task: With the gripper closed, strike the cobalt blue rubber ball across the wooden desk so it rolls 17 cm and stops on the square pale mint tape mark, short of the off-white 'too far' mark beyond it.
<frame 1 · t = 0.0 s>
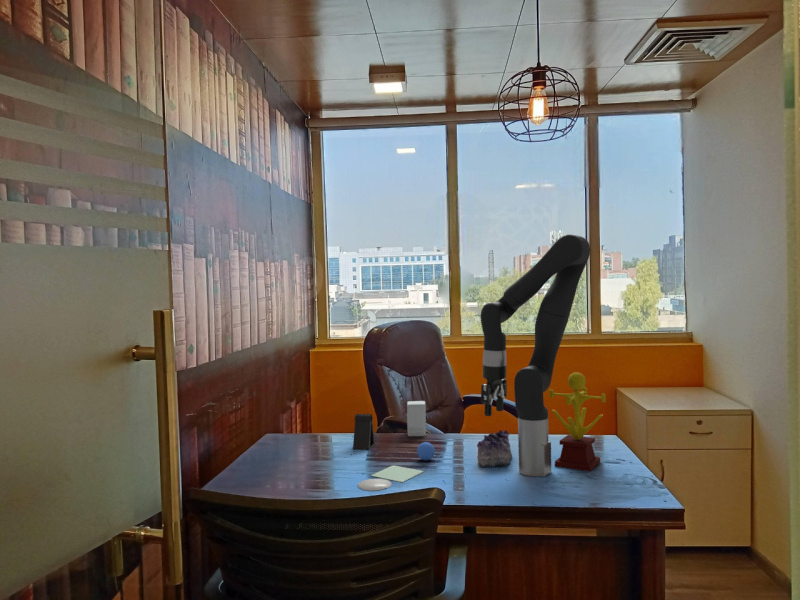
hand: (494, 413, 193), 17 cm above the table, fingers open, 8 cm apart
ball: (426, 451, 201), on the table
supplement box: (416, 434, 237), on the table
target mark: (397, 473, 187), on the table
trophy: (577, 464, 193), on the table
phone stand: (364, 447, 220), on the table
geode: (495, 461, 200), on the table
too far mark: (374, 484, 177), on the table
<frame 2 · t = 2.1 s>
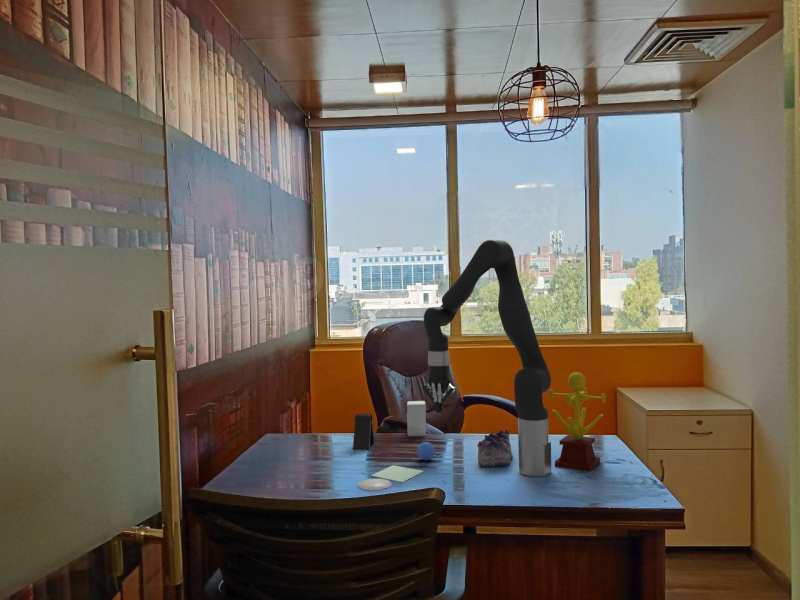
hand: (439, 412, 209), 14 cm above the table, fingers closed
nothing on the table moved.
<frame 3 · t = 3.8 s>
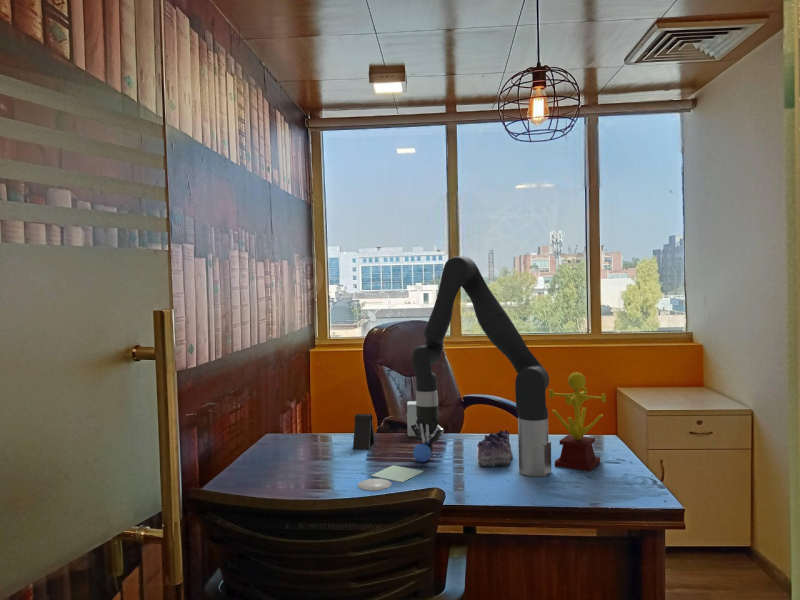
hand: (428, 453, 203), 2 cm above the table, fingers closed
ball: (422, 452, 199), on the table
everything else where it was.
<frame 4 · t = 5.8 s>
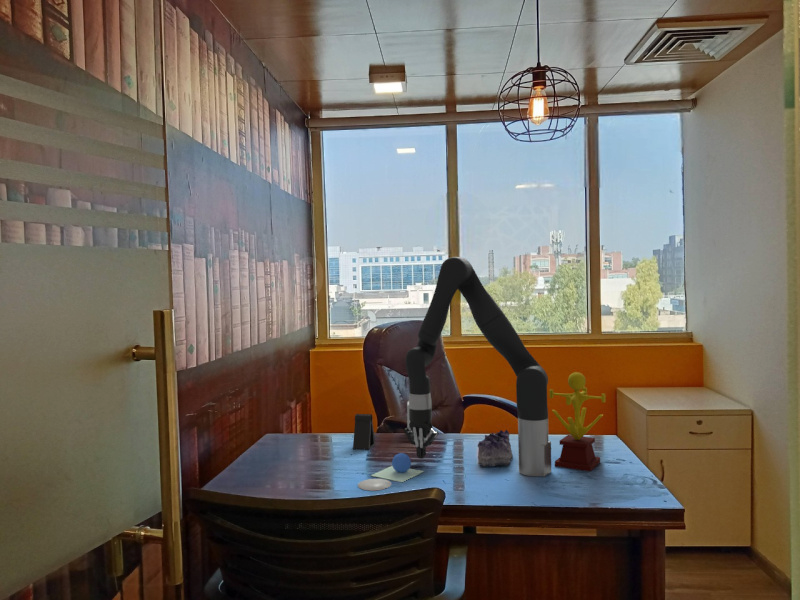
hand: (421, 457, 199), 2 cm above the table, fingers closed
ball: (401, 462, 188), on the table
everything else where it was.
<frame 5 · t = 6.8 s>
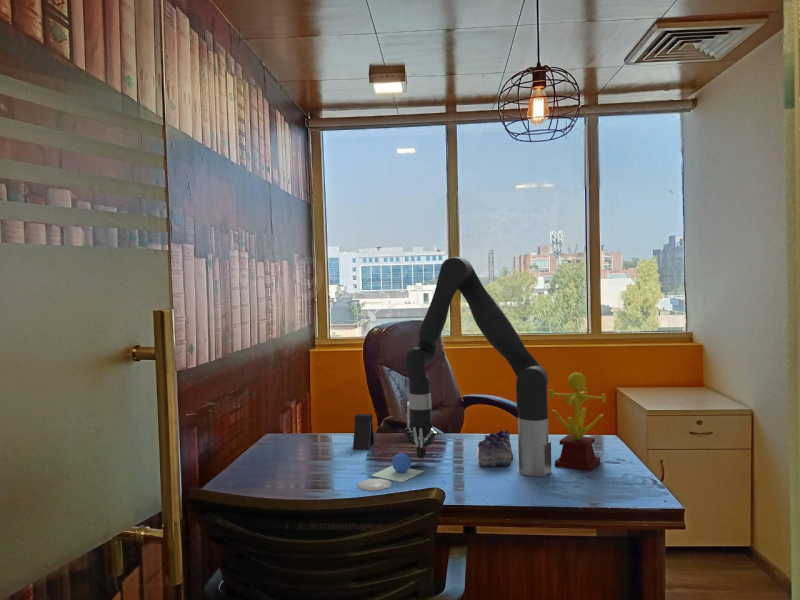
hand: (421, 457, 199), 2 cm above the table, fingers closed
nothing on the table moved.
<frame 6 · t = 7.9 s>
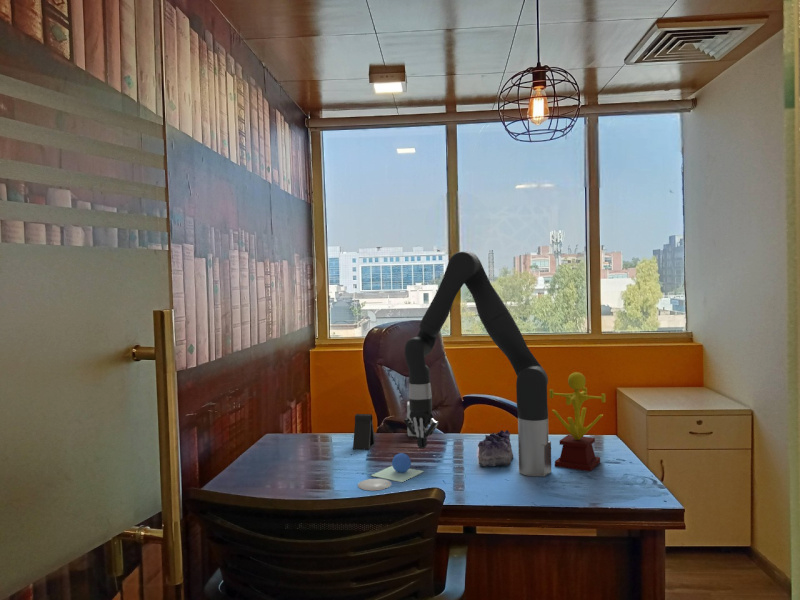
hand: (422, 447, 198), 5 cm above the table, fingers closed
nothing on the table moved.
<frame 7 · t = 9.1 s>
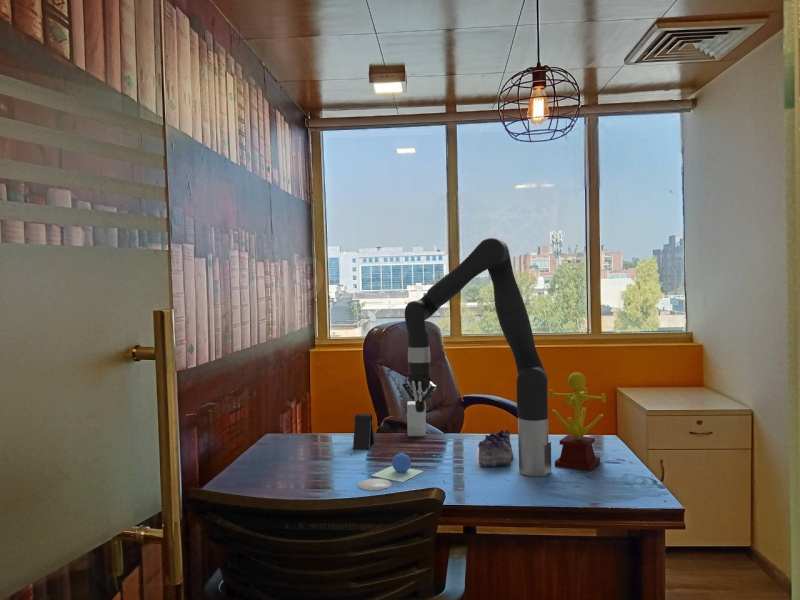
hand: (420, 411, 198), 17 cm above the table, fingers closed
nothing on the table moved.
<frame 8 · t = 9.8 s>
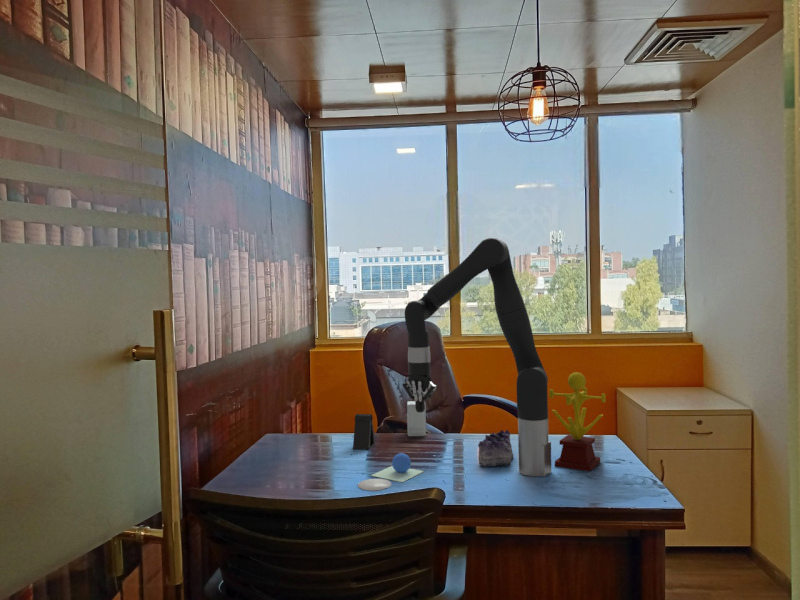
hand: (420, 411, 198), 17 cm above the table, fingers closed
nothing on the table moved.
at the end: ball 2.0 cm from the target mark (horizontally); ball at rest at the end (0.0 cm/s); ball moved 15.1 cm from its start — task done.
